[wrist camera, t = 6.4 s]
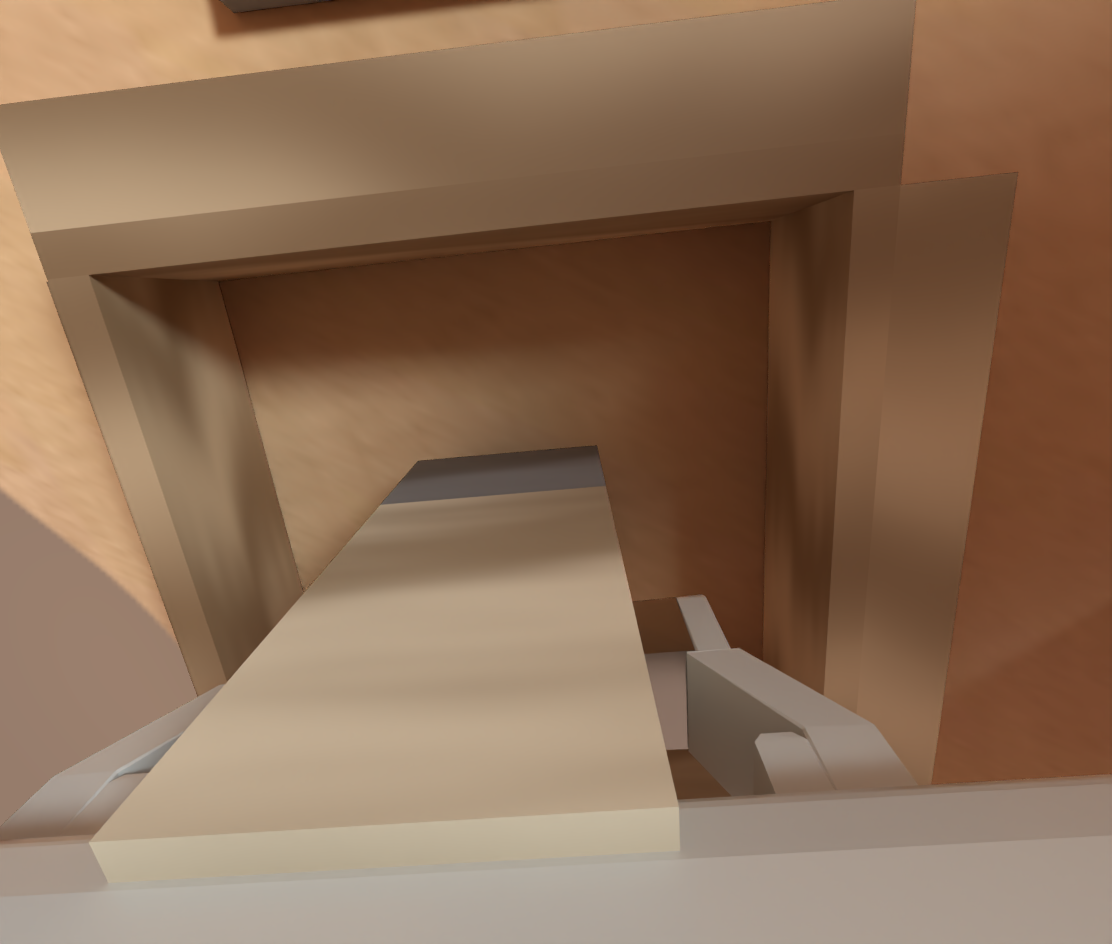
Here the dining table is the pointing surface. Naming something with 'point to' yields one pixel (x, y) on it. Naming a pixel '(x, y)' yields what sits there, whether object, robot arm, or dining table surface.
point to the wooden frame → (538, 220)
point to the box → (428, 698)
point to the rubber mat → (262, 4)
